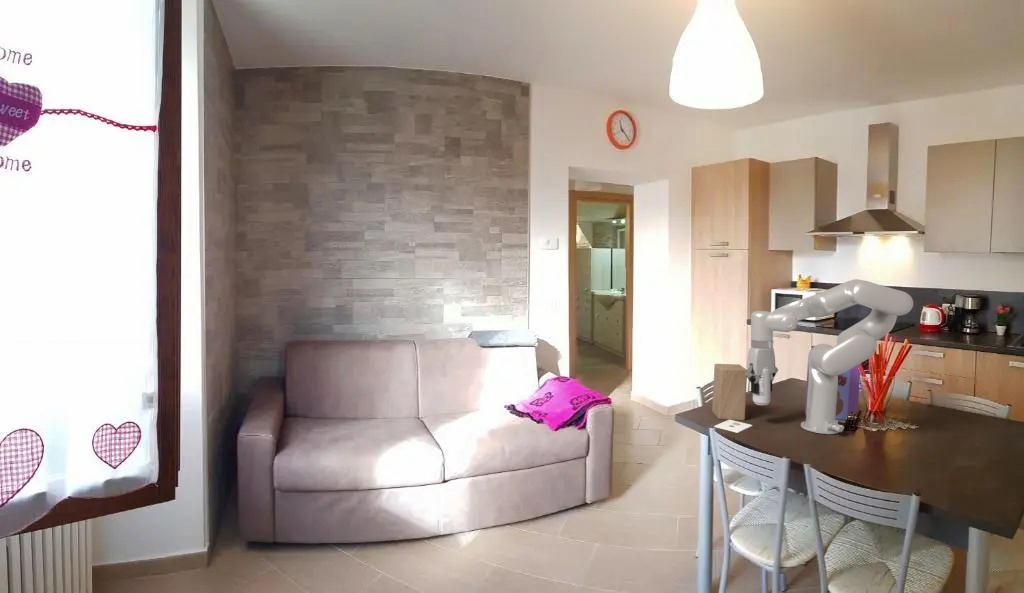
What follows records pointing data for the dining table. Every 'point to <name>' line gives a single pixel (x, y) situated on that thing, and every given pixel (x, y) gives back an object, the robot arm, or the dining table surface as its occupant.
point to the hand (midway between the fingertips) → (761, 391)
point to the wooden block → (729, 391)
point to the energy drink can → (763, 388)
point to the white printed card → (733, 426)
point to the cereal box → (845, 392)
